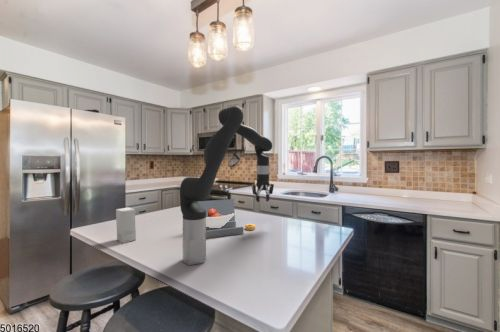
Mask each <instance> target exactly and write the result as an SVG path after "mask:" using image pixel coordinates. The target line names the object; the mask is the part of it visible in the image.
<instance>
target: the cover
mask: <svg viewBox="0 0 500 332" xmlns="http://www.w3.org/2000/svg"><path fill="white" fill-rule="evenodd" d="M197 202H198V204H199V205H200V206H201V207H202V208H204V209H205V210H206V216H208V211H209V209H212V208H213V209H216V210H217V212H218V213H219V214H221V215H228V214H232V213H234V214H235V213H236V212H235V199H234V198H230V199H229V198H228V199H215V200H204V201H197ZM232 221H236V216H235V215H234V216H233V217H232V218H231V219H230V220H229V222H232Z"/></svg>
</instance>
